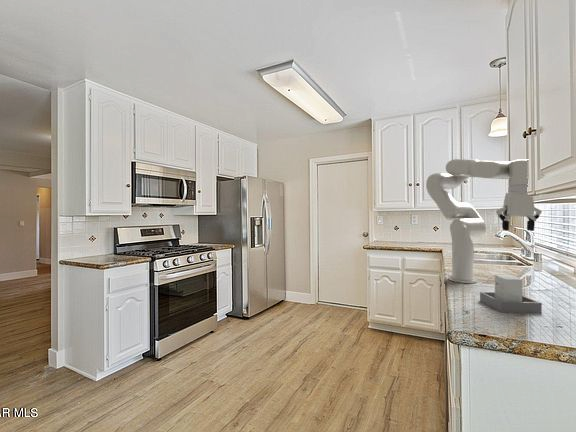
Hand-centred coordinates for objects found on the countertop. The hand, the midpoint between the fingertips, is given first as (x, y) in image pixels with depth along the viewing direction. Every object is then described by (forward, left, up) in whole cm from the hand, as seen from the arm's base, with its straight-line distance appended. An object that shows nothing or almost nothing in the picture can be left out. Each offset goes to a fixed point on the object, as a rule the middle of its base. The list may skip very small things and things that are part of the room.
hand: (517, 230), depth 131 cm
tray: (+17, -13, -27) cm, 35 cm away
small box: (+16, -14, -27) cm, 34 cm away
